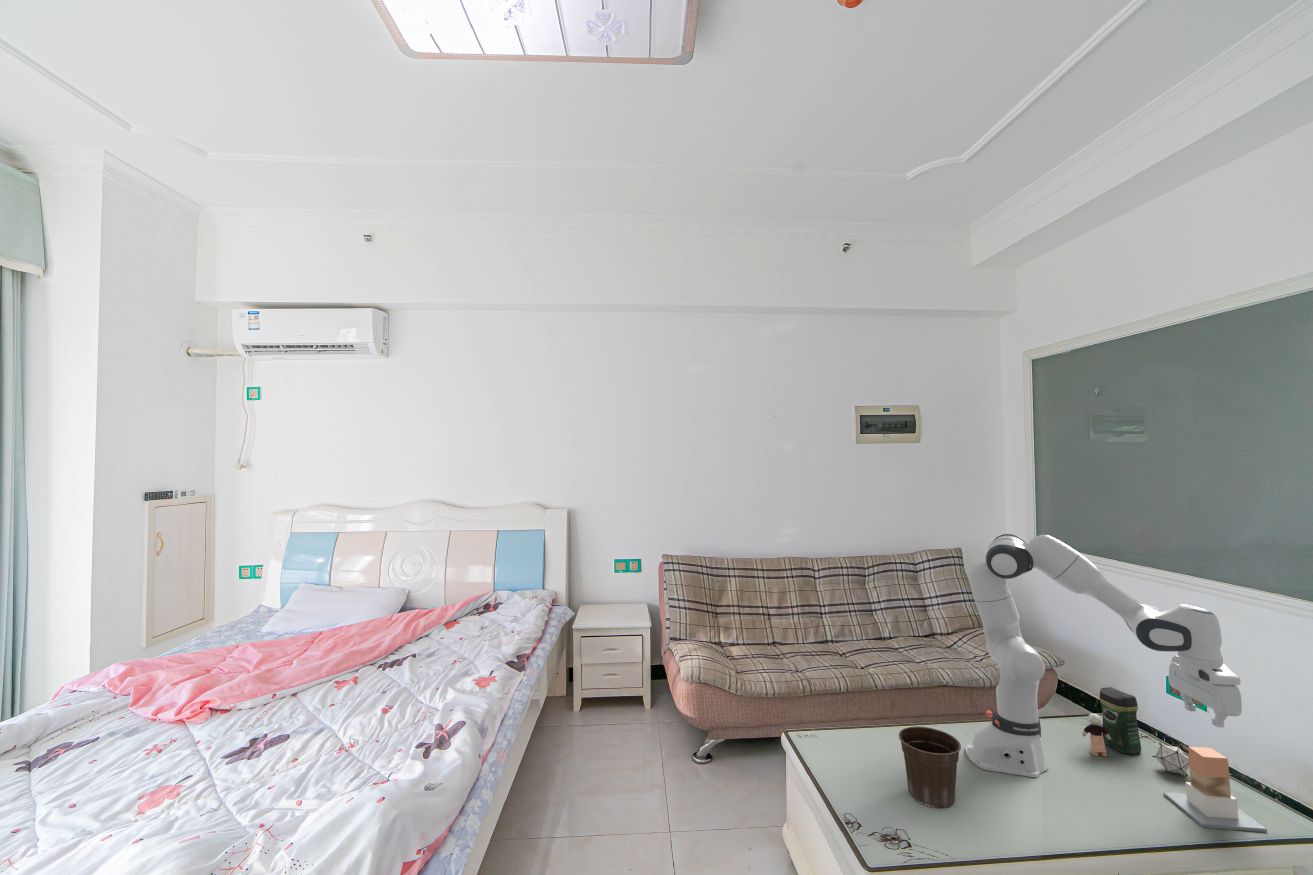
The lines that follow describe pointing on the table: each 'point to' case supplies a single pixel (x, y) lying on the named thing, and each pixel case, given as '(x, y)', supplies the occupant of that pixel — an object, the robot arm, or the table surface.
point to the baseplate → (1213, 820)
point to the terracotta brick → (1208, 762)
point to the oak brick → (1210, 784)
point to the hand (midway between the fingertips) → (1203, 717)
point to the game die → (1173, 759)
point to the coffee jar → (1120, 720)
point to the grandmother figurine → (1096, 735)
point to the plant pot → (930, 764)
